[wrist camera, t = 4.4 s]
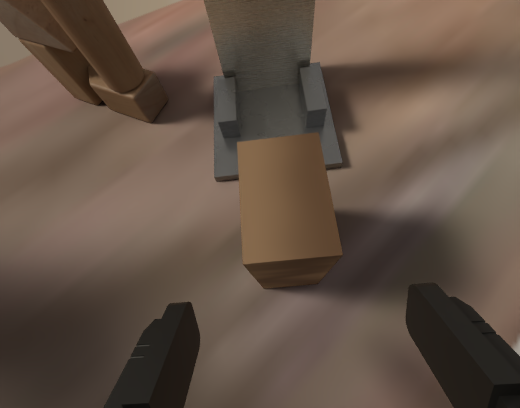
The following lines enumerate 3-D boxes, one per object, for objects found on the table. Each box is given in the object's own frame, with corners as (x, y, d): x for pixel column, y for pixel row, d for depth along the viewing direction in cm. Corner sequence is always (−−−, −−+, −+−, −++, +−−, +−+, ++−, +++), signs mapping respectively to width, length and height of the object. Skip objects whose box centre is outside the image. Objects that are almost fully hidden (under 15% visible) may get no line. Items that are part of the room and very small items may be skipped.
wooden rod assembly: (94, 76, 31) (-126, -197, 15) (170, 99, 28) (8, -201, 12) (74, 99, 30) (-190, -169, 13) (152, 125, 27) (-57, -167, 11)
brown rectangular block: (263, 288, 20) (242, 264, 11) (258, 213, 22) (237, 142, 13) (317, 284, 20) (342, 254, 11) (306, 208, 22) (318, 132, 13)
